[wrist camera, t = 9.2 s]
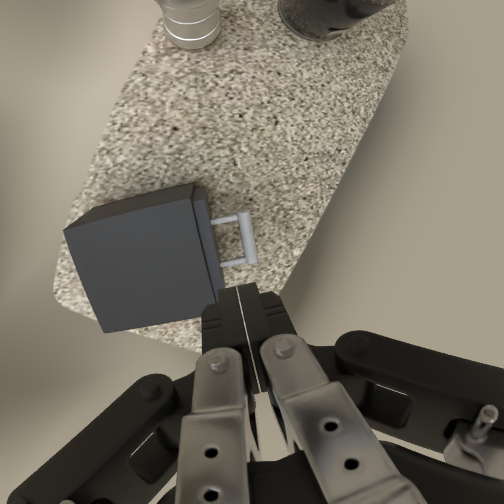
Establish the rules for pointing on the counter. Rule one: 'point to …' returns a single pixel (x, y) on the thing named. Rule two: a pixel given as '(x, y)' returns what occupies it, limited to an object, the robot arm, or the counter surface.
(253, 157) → the counter surface
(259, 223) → the counter surface
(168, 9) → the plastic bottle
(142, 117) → the counter surface
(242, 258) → the cabinet drawer
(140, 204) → the grey handled drawer box
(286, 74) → the counter surface
